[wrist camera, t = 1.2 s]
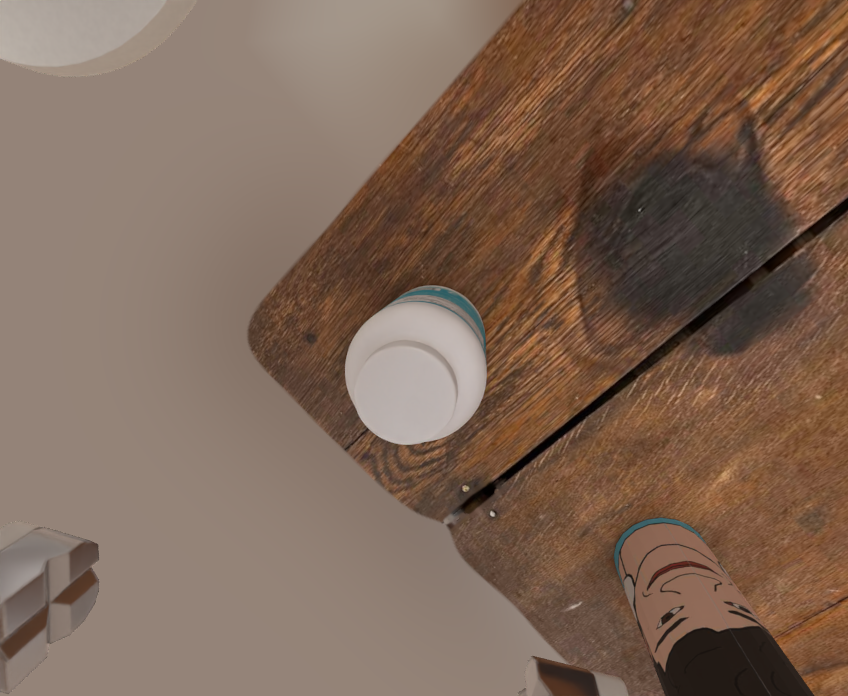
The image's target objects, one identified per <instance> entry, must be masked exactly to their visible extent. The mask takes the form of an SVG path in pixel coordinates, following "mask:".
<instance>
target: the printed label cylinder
mask: <svg viewBox="0 0 848 696" xmlns="http://www.w3.org/2000/svg"><path fill="white" fill-rule="evenodd" d="M614 560H615V566H616V570H617V572H618V575H619V577H620V580H621V582H622V585H623V588H624V590H625V593H626V595H627V598H628V600H629V603H630V606H631V608H632V611H633V613H634V616H635V618H636V621H637V623H638V626H639V629H640V631H641V634H642V636H643V639H644V641H645V644H646V647H647V649H648V652H649V654H650V657H651V659H652V662H653V665H654V667H655V670H656V672H657V675H658V677H659V680H660V683H661V685H662V688H663V690H664V693H665V695H666V696H814V695H813V693H812V692H811V690H810V689H809V688H808V686H807V685H806V683H805V682H804V680H803V679H802V678H801V676H800V675H799V673H798V672H797V671H796V669H795V668H794V666H793V665H792V664H791V662H790V661H789V659H788V658H787V657H786V655H785V654H784V652H783V651H782V650H781V648H780V647H779V645H778V644H777V643H776V641H775V640H774V638H773V637H772V635H771V634H770V633H769V631H768V630H767V628H766V627H765V626H764V624H763V623H762V621H761V620H760V619H759V617H758V616H757V614H756V613H755V612H754V610H753V609H752V607H751V606H750V605H749V603H748V602H747V600H746V599H745V598H744V596H743V595H742V593H741V592H740V591H739V589H738V588H737V586H736V585H735V583H734V582H733V581H732V579H731V578H730V576H729V575H728V574H727V572H726V571H725V569H724V568H723V567H722V565H721V564H720V562H719V561H718V560H717V558H716V557H715V555H714V554H713V553H712V551H711V550H710V548H709V547H708V546H707V544H706V543H705V541H704V540H703V539H702V537H701V536H700V534H699V533H697V532H696V531H695V530H694V529H693V528H692V527H690V526H689V525H687V524H685V523H682V522H680V521H678V520H674V519H666V518H656V519H649V520H645V521H642V522H640V523H638V524H635V525H633V526H632V527H631V528H629V529H628V530H627V531H626V532H625V533H623V534H622V536H621V538H620V539H619V541H618V542H617V544H616V548H615V553H614Z"/></svg>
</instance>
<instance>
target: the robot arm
mask: <svg viewBox="0 0 848 696" xmlns="http://www.w3.org/2000/svg"><path fill="white" fill-rule="evenodd" d="M98 560H99V551H98V544H96V543H94V542H92V541H90V540H86V539H83V538H80V537H76V536H73V535H69V534H66V533H63V532H59V531H56V530H53V529H49V528H45V527H40V526H37V525H34V524H30V523H27V522H23V521H17V522H12V523H8V524H6V525H5V526H3V527H1V528H0V692H3V693H6V694H9V693H10V692H11V691H12V690H13V689H14V688H15V687H16V686H17V685H18V684H20V683H21V682H22V681H23V680H24V679H25V678H26V677H27V676H28V675H29V674H30V673H31V672H32V671H33V670H34V669H35V668H36V667H37V666H38V665H39V664H40V663H42V661H44V660H45V659H46V658H47V654H48V650H49V647H50V644H51V643H54V642H56V641H58V640H60V639H62V638H65V637H67V636H69V635H71V634H72V633H73V632H74V631H75V630H76V629H77V628H78V627H79V626H80V625H81V624H82V623H83V622H84V620H85V619H86V617H87V616H88V614H89V612H90V611H91V609H92V608H93V606H94V604H95V602H96V598H97V595H98V592H99V579H98V577H97V576H96V574H95V572H94V571H93V569H92V566H93V565H94V564H95V563H96V562H97V561H98ZM525 682H526V688H525V689H523V690H522V691H520V692H519V693H518V696H629V694H628V691H627V688H626V685H625V683H624V682H623V681H622V679H621V678H619V677H615V676H611V675H607V674H603V673H599V672H595V671H589V670H587V669H583V668H579V667H575V666H571V665H567V664H563V663H559V662H555V661H551V660H547V659H543V658H539V657H535V656H532V657H531V658H530V659H529V661H528V664H527V667H526V670H525Z"/></svg>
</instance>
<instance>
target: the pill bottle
mask: <svg viewBox="0 0 848 696" xmlns="http://www.w3.org/2000/svg"><path fill="white" fill-rule="evenodd" d="M345 379H346V385H347V389H348V392H349V395H350V398H351V400H352V402H353V404H354V406H355V407H356V410H357V412H358V415H359V417H360V418H361V420H362V421H363V423H364V424H365V425H366V426H367V428H368V429H370V430H371V431H372V432H373V433H374V434H376V435H377V436H378V437H380V438H382V439H384V440H387V441H389V442H392V443H396V444H403V445H411V444H419V443H422V442H427V441H433V440H437V439H440V438H443V437H446V436H448V435H450V434H452V433H454V432H455V431H457V430H458V429H460V428H461V427H462V426H463V425H464V424H465V423H466V422H467V421H468V420H469V419H470V418H471V417H472V416H473V414H474V413H475V411H476V410H477V408H478V407H479V405H480V403H481V400H482V398H483V395H484V391H485V387H486V379H487V367H486V342H485V330H484V325H483V322H482V319H481V316H480V315H479V313H478V311H477V309H476V308H475V306H474V305H473V304H472V303H471V302H470V301H469V300H468V299H467V298H466V297H465V296H463V295H462V294H460V293H459V292H457V291H455V290H452V289H450V288H447V287H443V286H435V285H429V286H422V287H417V288H414V289H412V290H410V291H408V292H406V293H404V294H403V295H401V296H400V297H398V298H397V299H396V300H394V301H393V302H391V303H390V304H389V305H387V306H386V307H385V308H383V309H382V310H380V311H379V312H378V313H376V314H375V315H373V316H372V317H371V318H370V319H369V320H367V321H366V322H365V323H364V324H363V326H362V327H361V328H360V329H359V331H358V332H357V333H356V335H355V337H354V338H353V340H352V342H351V344H350V347H349V350H348V353H347V357H346V363H345Z"/></svg>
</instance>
